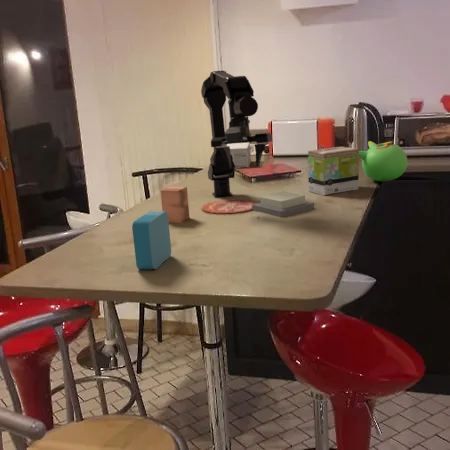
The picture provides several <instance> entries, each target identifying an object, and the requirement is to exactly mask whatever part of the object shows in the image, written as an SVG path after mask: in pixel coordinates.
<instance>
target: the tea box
mask: <svg viewBox="0 0 450 450" xmlns="http://www.w3.org/2000/svg"><path fill="white" fill-rule="evenodd" d="M359 151H360V149H359V148H355V147H347V146H336V147H335V146H334V147H329V148H327V147H326V148H320V149H313V150H308V151H307V156H308V159H307V163H308V164H307V165H308V168H307V169H308V172H307V173H308V174H307V175H308V177H307V179H308V180H307V181H308V192H311V193H313V194H318V195H321V196H327V195H332V194H338V193H344V192H345V193H346V192H351V191H357V190H359V183H360V181H359V175H360V173H359V172H360V171H359V165H360V164H359V163H360V162H359V161H360V160H359V159H360V158H359Z"/></svg>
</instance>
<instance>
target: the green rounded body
mask: <svg viewBox="0 0 450 450" xmlns="http://www.w3.org/2000/svg"><path fill="white" fill-rule="evenodd" d="M367 145H368V149H367V150H359V159H361V160H362V161H361V166H362V170H363V172H364V174H365V175H366V176H367V177H368V178H370V179H371V180H373V181H375V182H376V181H377V182H381V183H382V182H390V181H394V180H396V179H398V178H400V177H401V176H402V175H403V174H404V173H405V171H406V169H407V167H408V157H407V154H406V152H405V150H403V148H402V147H401V146H399V145H397V144H393V141H387V142H382V143H378V144H377V143H375V142H373V141H371V140H369V141H368V142H367Z"/></svg>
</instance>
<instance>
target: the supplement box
mask: <svg viewBox="0 0 450 450" xmlns="http://www.w3.org/2000/svg"><path fill="white" fill-rule="evenodd" d="M227 146H230V154H231V155H232V158H233V162H234V165H235V169H240V168H239V167H248V168H249V167H250V165H251V162H252V155H251V154H252V153H251V142H245V143H233V144H227Z"/></svg>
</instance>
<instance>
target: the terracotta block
mask: <svg viewBox="0 0 450 450" xmlns="http://www.w3.org/2000/svg"><path fill="white" fill-rule="evenodd" d="M160 199H161V208H162V210H161V211H166V212H167V214H168V221H169V223H174V224H175V223H177V224H181V223H183V222H185V221H187V220H188V219H190V208H189V207H190V206H189V197H188V186H170V185H169V186H167V187H165V188H163V189H160Z"/></svg>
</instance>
